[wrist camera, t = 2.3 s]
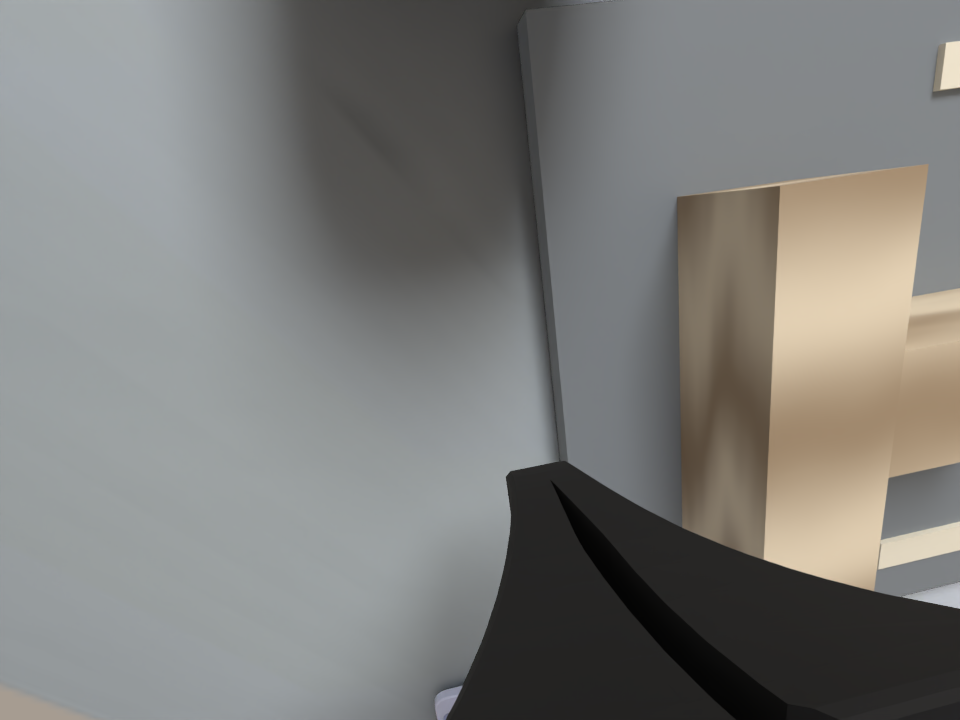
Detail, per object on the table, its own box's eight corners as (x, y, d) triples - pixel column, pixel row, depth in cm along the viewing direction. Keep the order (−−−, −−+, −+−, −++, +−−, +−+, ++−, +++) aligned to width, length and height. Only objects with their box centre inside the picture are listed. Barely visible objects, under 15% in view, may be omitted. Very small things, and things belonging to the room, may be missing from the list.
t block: (961, 481, 18) (1107, 548, 15) (682, 543, 17) (760, 634, 13) (1021, 146, 15) (1233, 119, 11) (677, 196, 14) (780, 185, 10)
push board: (1141, 515, 22) (1181, 531, 21) (579, 651, 19) (590, 678, 18) (1320, -59, 16) (1393, -82, 14) (516, 25, 13) (527, 6, 12)
